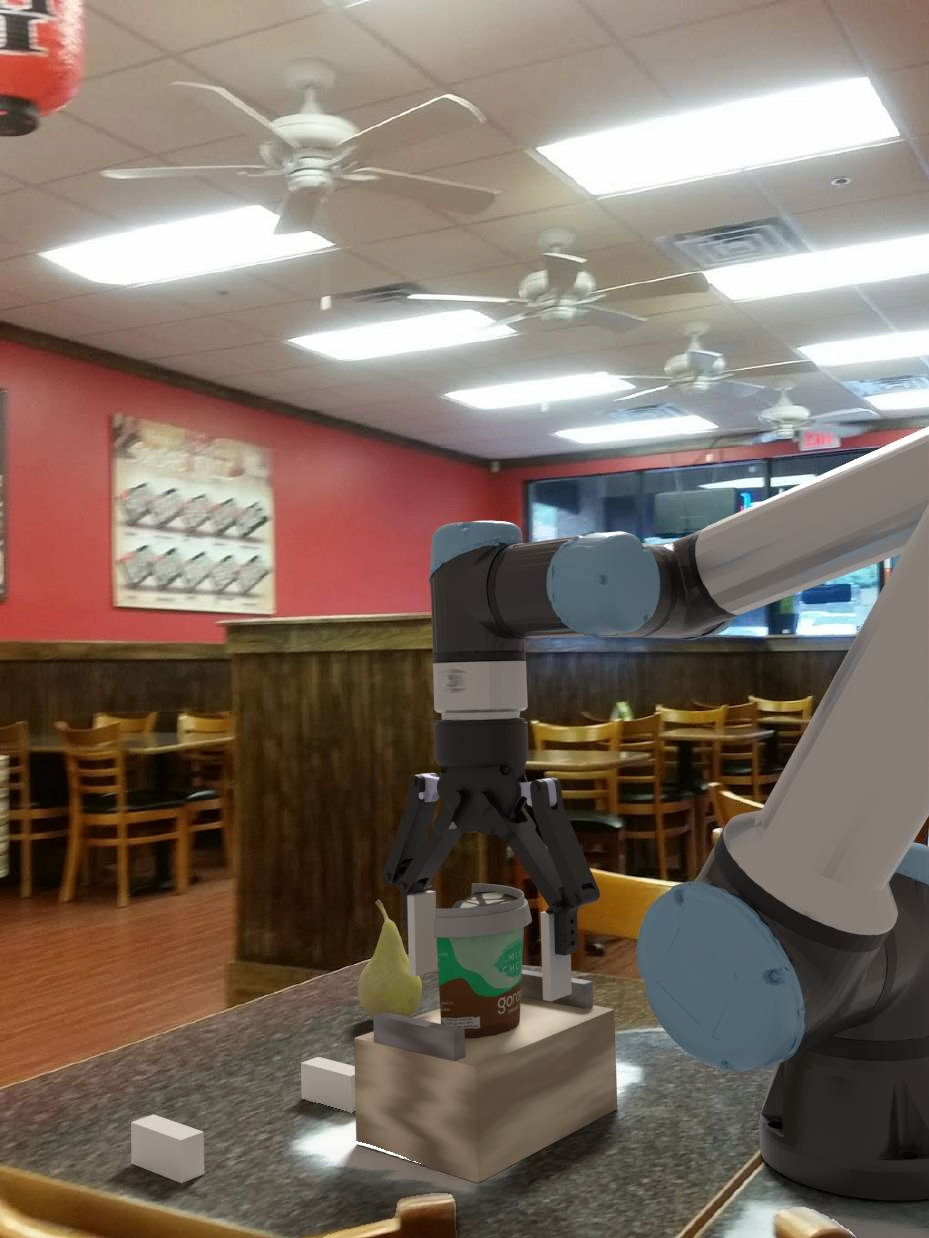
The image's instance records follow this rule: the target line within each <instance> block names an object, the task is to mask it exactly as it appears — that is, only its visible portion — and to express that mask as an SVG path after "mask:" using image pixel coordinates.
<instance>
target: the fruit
mask: <svg viewBox="0 0 929 1238" xmlns="http://www.w3.org/2000/svg"><path fill="white" fill-rule="evenodd" d="M375 905H376V906H377V907H378V908H379V910H380V912H381V913H382V916H383V919H384V922H383V925H382V927H381V932H380V934H379V938H378V941H377V945H376V948H375V950H374V953H373V955H372V956H371V958H370V960H369V962H368V963H367V964H366V965H365V967H364V968H363V970H362V971H361V973H360V975H359V980H358V984H357V985H358V987H357V988H358V989H357V992H358V993H357V994H358V995H357V997H358V1000H359V1003H360V1005H361V1007H362V1009H363V1010H364V1011H365V1012H366V1013H367V1014H368V1015H370V1016H371V1017H373V1015H376V1014H379V1013H382V1012H388V1013H392V1014H397V1015H402V1016H406V1017H411V1018H412V1016H413V1015H414V1013H415V1012H416V1010H417V1009H418V1008H419V1005H420V1003H421V1000H422V999H421V998H422V993H423V986H422V985H423V984H422V980H421V977H420V975H419V976H411V975H409V956H408V955H407V953H406V950H405V946H404V944H403V940H402V937H401V935H400V932H399V929H398V927H397V924H396V923H395V921H393V920H391V919H389V916H388V914H387V912H386V909H385V908H384V904H383V903H382V901H381V900H380V899H377V900H376V901H375Z"/></svg>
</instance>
